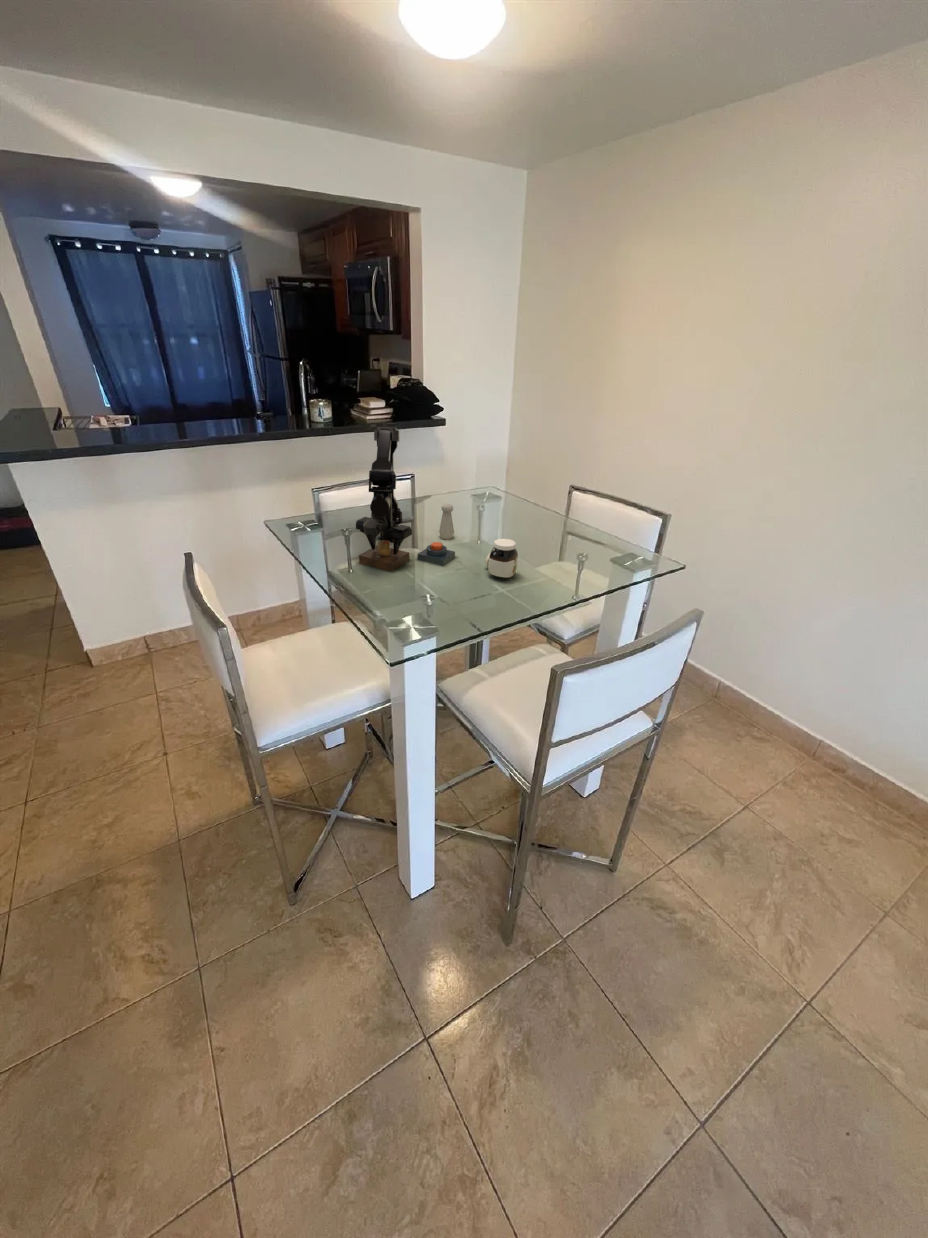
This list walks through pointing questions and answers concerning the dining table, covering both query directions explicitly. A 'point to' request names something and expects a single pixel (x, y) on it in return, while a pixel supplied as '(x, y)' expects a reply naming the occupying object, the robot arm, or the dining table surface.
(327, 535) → the dining table surface
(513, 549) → the spread jar
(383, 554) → the dial
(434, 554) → the button housing
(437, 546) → the button
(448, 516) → the salt shaker
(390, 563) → the dial panel
